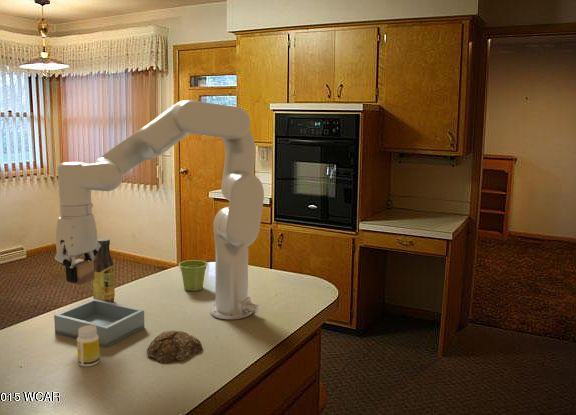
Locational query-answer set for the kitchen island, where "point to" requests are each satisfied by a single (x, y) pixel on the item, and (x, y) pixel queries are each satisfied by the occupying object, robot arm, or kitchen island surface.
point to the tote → (100, 320)
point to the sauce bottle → (104, 273)
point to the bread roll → (173, 346)
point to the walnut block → (83, 271)
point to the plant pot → (193, 274)
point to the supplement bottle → (88, 346)
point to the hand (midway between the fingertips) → (80, 278)
